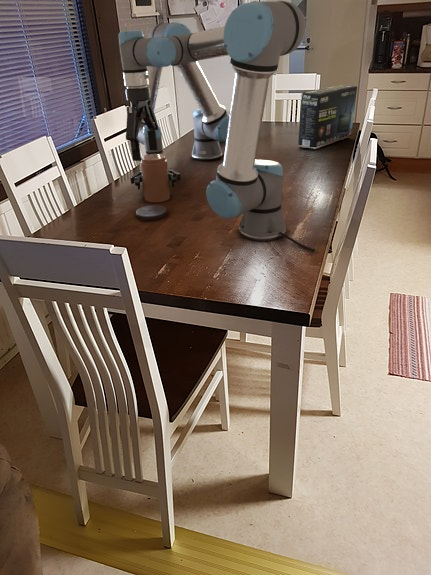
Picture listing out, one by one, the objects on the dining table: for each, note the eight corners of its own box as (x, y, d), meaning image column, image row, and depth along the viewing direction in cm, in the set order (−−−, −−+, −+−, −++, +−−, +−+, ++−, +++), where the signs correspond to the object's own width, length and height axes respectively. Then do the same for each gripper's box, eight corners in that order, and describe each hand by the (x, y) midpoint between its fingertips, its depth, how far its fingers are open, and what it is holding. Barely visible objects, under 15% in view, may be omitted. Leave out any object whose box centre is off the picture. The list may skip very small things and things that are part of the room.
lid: (167, 219, 162) (166, 215, 161) (136, 222, 161) (135, 217, 160) (165, 208, 171) (165, 204, 170) (136, 210, 170) (136, 206, 169)
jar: (154, 192, 187) (149, 152, 179) (174, 195, 183) (171, 154, 175) (139, 200, 179) (134, 159, 171) (161, 203, 175) (156, 161, 167)
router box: (314, 151, 231) (318, 94, 217) (296, 148, 237) (299, 92, 224) (352, 138, 251) (358, 85, 238) (335, 135, 258) (340, 83, 245)
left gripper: (185, 175, 196) (188, 192, 178) (127, 179, 194) (124, 196, 176) (183, 157, 192) (187, 173, 174) (124, 161, 190) (121, 177, 172)
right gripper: (130, 92, 132) (140, 165, 143) (163, 81, 153) (169, 146, 164) (107, 92, 134) (118, 165, 145) (142, 82, 155) (150, 145, 166)
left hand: (155, 185), depth 175 cm, fingers open, 12 cm apart
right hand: (145, 155), depth 154 cm, fingers open, 13 cm apart
